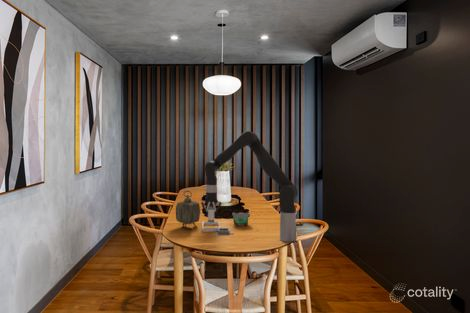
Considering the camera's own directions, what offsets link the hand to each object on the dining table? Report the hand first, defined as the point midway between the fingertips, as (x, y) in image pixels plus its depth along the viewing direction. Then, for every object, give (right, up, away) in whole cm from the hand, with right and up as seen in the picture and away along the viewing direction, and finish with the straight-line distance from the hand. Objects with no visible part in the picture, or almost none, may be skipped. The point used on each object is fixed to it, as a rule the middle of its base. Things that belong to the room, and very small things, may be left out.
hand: (211, 216), depth 224 cm
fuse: (0, -3, 0) cm, 3 cm away
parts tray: (0, -8, 0) cm, 8 cm away
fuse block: (+9, -9, -11) cm, 17 cm away
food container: (+20, -9, +7) cm, 23 cm away
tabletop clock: (-16, -8, +3) cm, 19 cm away
